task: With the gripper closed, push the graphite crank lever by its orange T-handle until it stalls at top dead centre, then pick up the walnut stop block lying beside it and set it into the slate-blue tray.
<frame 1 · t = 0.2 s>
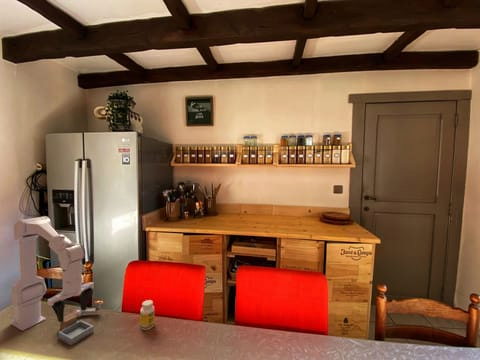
hand: (72, 315, 86), 10 cm above the table, fingers open, 7 cm apart
stop block: (68, 328, 93), on the table
supplement bottle: (147, 326, 95), on the table
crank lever: (86, 308, 102), point 3 cm above the table, hinge at 40.0°
tray: (76, 335, 89), on the table
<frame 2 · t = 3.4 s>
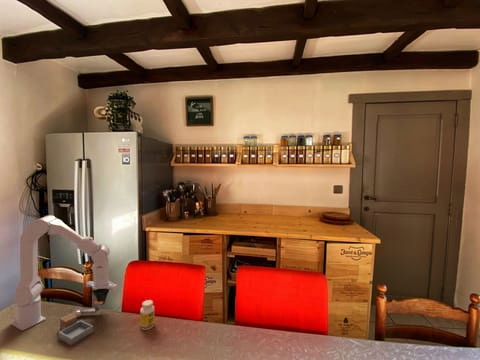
hand: (101, 303, 104), 3 cm above the table, fingers closed, pressing on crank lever
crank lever: (86, 308, 102), point 3 cm above the table, hinge at 38.2°, touching gripper
everything else where it was.
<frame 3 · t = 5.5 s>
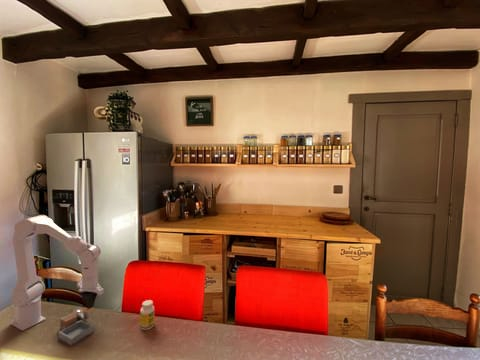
hand: (90, 307, 98), 6 cm above the table, fingers closed
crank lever: (81, 311, 99), point 3 cm above the table, hinge at -4.1°
everything else where it was.
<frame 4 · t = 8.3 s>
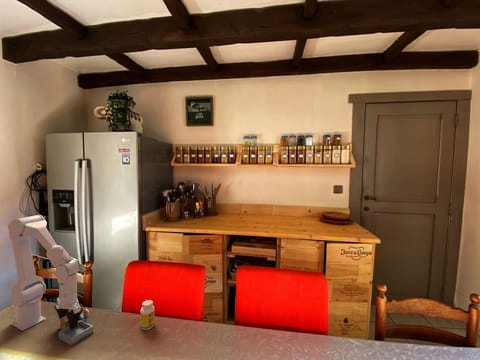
hand: (68, 324, 93), 1 cm above the table, fingers open, 7 cm apart
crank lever: (81, 311, 99), point 3 cm above the table, hinge at -4.5°
everything else where it was.
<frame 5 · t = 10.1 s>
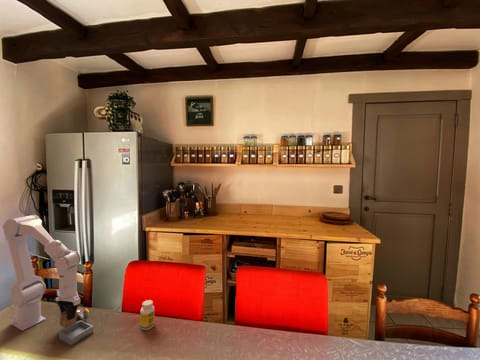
hand: (68, 317, 93), 5 cm above the table, fingers closed on stop block, 4 cm apart
stop block: (68, 323, 93), point 2 cm above the table, touching gripper
everything else where it was.
when the fingers open (3 cm above the table, at t = 12.6 s): stop block stays where it is, resting on tray.
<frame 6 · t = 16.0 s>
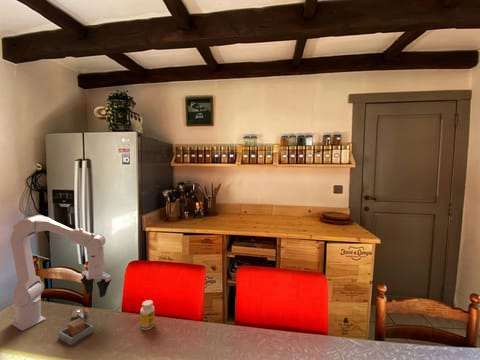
hand: (96, 294, 101), 9 cm above the table, fingers open, 7 cm apart
stop block: (76, 333, 89), point 1 cm above the table, touching tray
everything else where it was.
at the end: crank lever at -4° (first picture: +40°); stop block 0.0 cm off-centre on the tray, point 0.6 cm above the tray's base; stop block tilted 0° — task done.
